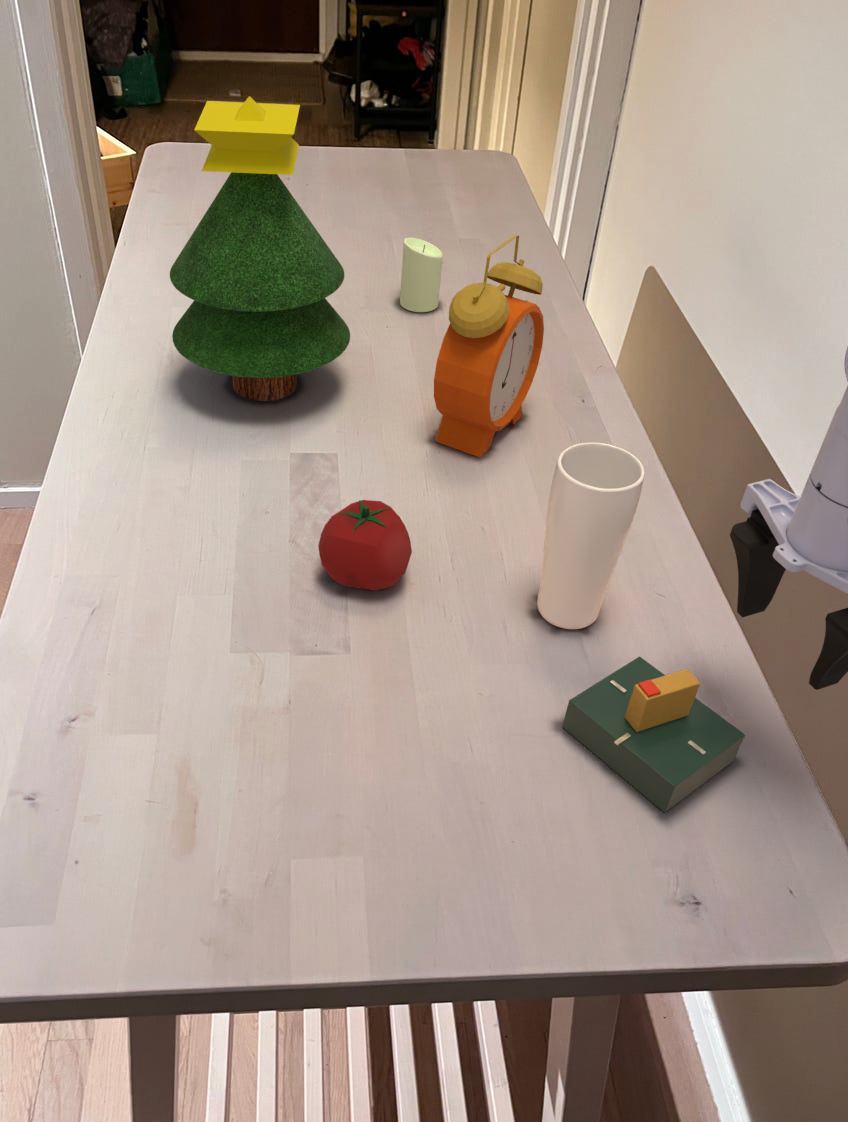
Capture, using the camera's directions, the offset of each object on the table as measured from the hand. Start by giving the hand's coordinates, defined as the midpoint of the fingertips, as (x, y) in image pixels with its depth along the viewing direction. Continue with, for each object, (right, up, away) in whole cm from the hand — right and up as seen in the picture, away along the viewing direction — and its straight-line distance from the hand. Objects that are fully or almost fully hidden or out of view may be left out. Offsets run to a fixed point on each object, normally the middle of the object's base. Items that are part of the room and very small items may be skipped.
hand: (785, 645), depth 70 cm
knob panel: (-8, -8, +5) cm, 12 cm away
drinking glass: (-12, +2, +16) cm, 20 cm away
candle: (-23, +43, +59) cm, 76 cm away
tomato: (-29, +6, +19) cm, 35 cm away
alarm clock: (-17, +22, +37) cm, 47 cm away
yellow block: (-8, -5, +3) cm, 10 cm away
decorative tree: (-41, +28, +43) cm, 66 cm away
